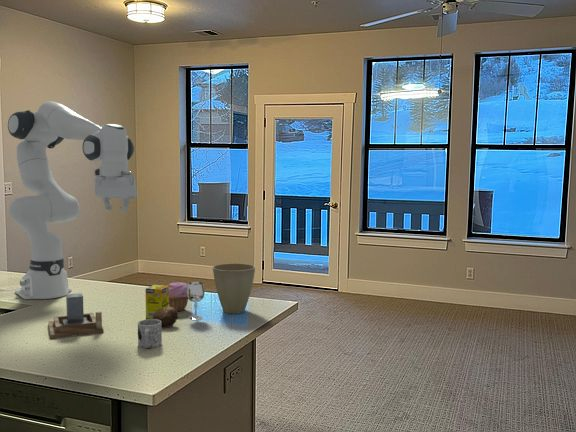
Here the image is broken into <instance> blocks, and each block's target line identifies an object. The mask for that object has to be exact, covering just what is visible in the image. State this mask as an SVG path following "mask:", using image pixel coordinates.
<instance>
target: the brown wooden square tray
mask: <svg viewBox="0 0 576 432" xmlns="http://www.w3.org/2000/svg"><path fill="white" fill-rule="evenodd" d="M84 317H86V319H87V321H88V322H86V323H77V324H68V325H63V320H64V319H67V314H66V315H59V316H53V320H51V321H48V330H49V335H50V339H59V338H68V337H69V338H70V337H78V336H79V337H80V336H86V335H96V334H103V333H104V327H103V319H102V318H103V314H102V311H96V312H95V314H94V312H87V313H84Z"/></svg>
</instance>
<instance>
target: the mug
mask: <svg viewBox="0 0 576 432" xmlns="http://www.w3.org/2000/svg"><path fill="white" fill-rule="evenodd" d="M162 330H163V329H162V324H161V321H160V320H157V319H147V320H146V319H144V320H140V321H138V322H137V346H138V348H140V349H144V350H145V349H156V348H160V347H161V346H162V344H163V341H162V336H163V335H162Z"/></svg>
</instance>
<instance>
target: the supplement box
mask: <svg viewBox="0 0 576 432" xmlns="http://www.w3.org/2000/svg"><path fill="white" fill-rule="evenodd" d="M166 307H169V286H168V285H160V284H153V285H151V286H149V287H145V320H147V319H153V315H154V314H155V312H156V311H158V310H159V309H162V308H166Z"/></svg>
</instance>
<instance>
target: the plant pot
mask: <svg viewBox="0 0 576 432" xmlns="http://www.w3.org/2000/svg"><path fill="white" fill-rule="evenodd" d="M212 272H213V278H214V284H215V289H216V293H217V298H218V299H219V303H220V306H221V308H222V311H223V312H224V313H225V314H233V315H235V314H241V313H244V312H245V310H246V308H247V305H248V302H249V298H250V297H251V292H252V289H253V283H254V279H255V278H254V277H255V272H256V266H255V265H253V264H249V263H238V262H237V263H236V262H235V263H234V262H233V263H231V262H230V263H222V264H216V265H213V266H212Z"/></svg>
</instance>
